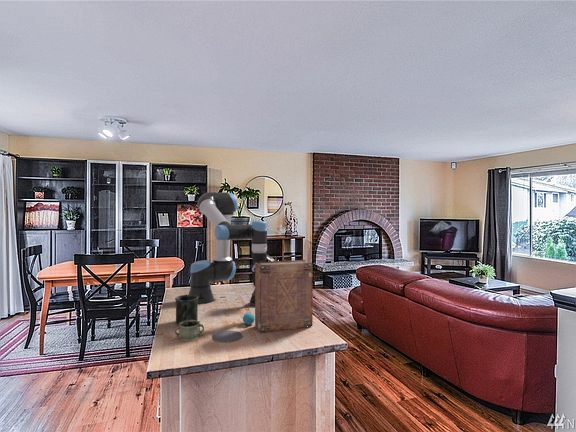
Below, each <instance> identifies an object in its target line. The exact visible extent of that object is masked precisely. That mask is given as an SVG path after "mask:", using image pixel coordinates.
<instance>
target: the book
mask: <svg viewBox="0 0 576 432" xmlns="http://www.w3.org/2000/svg"><path fill="white" fill-rule="evenodd" d="M313 265H314V264H313V263H312V262H306V260H305V259H299V260H298V259H297V260H279V261H277V260H275V261H274V262H271V261H265V262H256V263H255V286H254V289H255V307H254V317H255V320H254V327H255V328H256V329H257V330H258V331H259V333H260V334H261V333H272V332H279V331H285V330H286V331H288V329H289V330H295V329H294V328H297V329H302V328H301V327H305V328H308V327H307V326H312V327H313V318H314V317H313V316H314V315H313V297H314V296H313V293H314V291H313V288H314V286H313V279H314V278H313V277H314V276H313V274H314V271H313V269H314V266H313Z"/></svg>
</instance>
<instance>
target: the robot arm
mask: <svg viewBox="0 0 576 432" xmlns="http://www.w3.org/2000/svg"><path fill="white" fill-rule="evenodd" d="M197 208H198V210H199V212H200V214H202V215H204V216H205V217H206V219H208V221H209V222H210V223H211V225H212V226H213V228H214V236H215V256H214V257H213V259H212V261H211V260H207V259H204V260H198V261H197V260H196V261H195V262H193V263H191V265H190V270H189V273H190V274H189V275H190V276H189V277H190V285H189V286H190V288H189V292H188V294H187V295H197V296H198V297H199V298H198V305H201V304H208V303H212V302H213V301H214V293H213V292H212V291H213V290H212V288H211V286H212V285H211V283H213V282H214V283H215V282H223V281H224V282H226V281H230V280H232V279H233V278H234V276H235V275H236V270H237V266H236V262H235V261H233V258H232V257H231V241H234V240H251V252H252V253H251V260H252V261H253V266H252V267H251V268H250V270H251V277H252V282H253V283H252V284H253V287H255V263H256V262H266V260H268V259H267V255H268V253H267V251H268V245H267V244H268V224H267V221H263V220H259V221H257V220H256V221H255V220H253V221H252V222H251V224H249V223H248V224H232V217H233V216H234V213H236V212H237V210H238V200H237V197H236V195H235V194H234V193H233V192H232V193H231V192H216V191H215V192H213V191H209V192H205V193H204V194H203V193H202V195H201V196H200V197H199V198H198V201H197Z"/></svg>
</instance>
